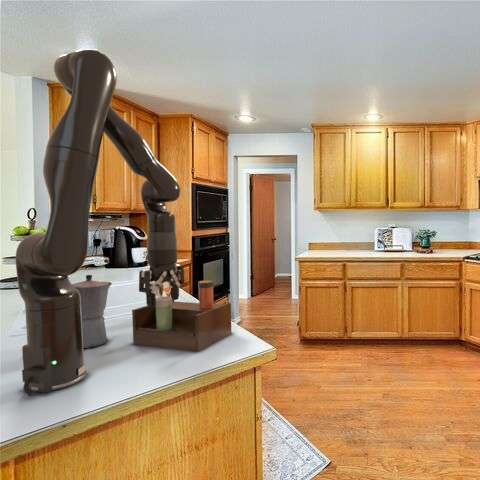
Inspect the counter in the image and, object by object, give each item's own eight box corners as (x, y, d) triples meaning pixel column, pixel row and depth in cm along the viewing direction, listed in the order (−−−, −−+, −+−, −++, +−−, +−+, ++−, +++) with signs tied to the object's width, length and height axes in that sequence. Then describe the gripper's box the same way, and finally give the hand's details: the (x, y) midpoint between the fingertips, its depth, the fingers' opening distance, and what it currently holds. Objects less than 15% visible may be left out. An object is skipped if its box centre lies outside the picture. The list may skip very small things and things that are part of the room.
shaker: (164, 331, 100) (163, 300, 100) (152, 330, 102) (151, 299, 101) (176, 326, 105) (175, 296, 104) (164, 325, 106) (163, 296, 105)
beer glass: (147, 319, 125) (146, 277, 124) (153, 314, 131) (152, 274, 130) (169, 318, 127) (168, 277, 126) (174, 313, 133) (172, 274, 132)
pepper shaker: (207, 309, 105) (207, 283, 105) (195, 308, 106) (195, 282, 106) (216, 306, 109) (216, 280, 109) (205, 305, 110) (204, 280, 110)
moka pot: (124, 337, 107) (121, 272, 105) (70, 357, 92) (66, 281, 90) (100, 334, 109) (97, 270, 108) (44, 353, 94) (40, 279, 93)
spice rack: (198, 351, 96) (197, 315, 95) (133, 343, 101) (132, 309, 101) (231, 333, 111) (230, 302, 110) (172, 327, 116) (171, 298, 115)
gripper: (170, 245, 109) (171, 296, 110) (130, 248, 95) (131, 307, 96) (190, 246, 107) (191, 298, 108) (152, 249, 94) (154, 309, 95)
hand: (163, 302), depth 102 cm, fingers open, 8 cm apart
